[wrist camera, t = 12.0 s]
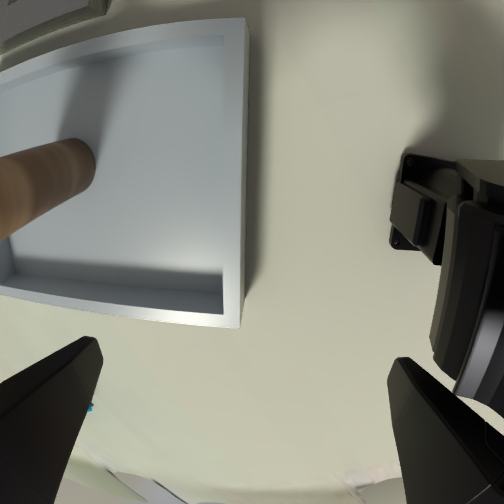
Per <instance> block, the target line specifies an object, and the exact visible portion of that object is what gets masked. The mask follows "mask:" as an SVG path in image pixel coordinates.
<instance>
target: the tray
mask: <svg viewBox="0 0 504 504" xmlns="http://www.w3.org/2000/svg"><path fill="white" fill-rule="evenodd" d="M249 59H250V32H249V29H248V26H247V23H246V19H245V18H217V19H202V20H191V21H182V22H174V23H166V24H159V25H153V26H147V27H141V28H136V29H131V30H126V31H121V32H117V33H112V34H108V35H104V36H100V37H96V38H93V39H89V40H85V41H82V42H79V43H75V44H72V45H69V46H66V47H63V48H60V49H57V50H54V51H51V52H48V53H45V54H43V55H40V56H37V57H35V58H32V59H30V60H27V61H25V62H22V63H20V64H18V65H15V66H13V67H11V68H9V69H6V70H4V71H2V72H0V157H2V156H5V155H9V154H12V153H15V152H19V151H22V150H26V149H29V148H33V147H36V146H40V145H44V144H48V143H52V142H56V141H60V140H64V139H69V138H77V139H80V140H82V141H84V142H85V143H86V144H87V145H88V146H89V147H90V149H91V150H92V152H93V155H94V158H95V164H96V170H95V176H94V179H93V181H92V183H91V185H90V186H89V187H88V188H87V189H86V190H85V191H83V192H82V193H80V194H78V195H76V196H74V197H73V198H71V199H69V200H67V201H65V202H64V203H62V204H60V205H58V206H57V207H55V208H53V209H51V210H50V211H48V212H46V213H45V214H43V215H41V216H40V217H38V218H36V219H35V220H33V221H31V222H30V223H28V224H27V225H25V226H23V227H22V228H20V229H19V230H17V231H16V232H14V233H13V234H11V235H10V236H8V237H7V238H5V239H4V240H2V241H1V242H0V295H4V296H8V297H13V298H17V299H22V300H27V301H32V302H37V303H42V304H47V305H52V306H58V307H63V308H69V309H75V310H81V311H87V312H93V313H100V314H107V315H113V316H121V317H128V318H136V319H144V320H152V321H160V322H169V323H179V324H189V325H200V326H211V327H224V328H238V329H240V325H241V319H242V312H243V306H244V300H245V246H246V190H247V142H248V98H249Z"/></svg>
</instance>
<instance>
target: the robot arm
mask: <svg viewBox="0 0 504 504" xmlns="http://www.w3.org/2000/svg"><path fill="white" fill-rule="evenodd" d="M408 158H410V159H411V163H410V164H409V165H408V164H407V159H408ZM390 222H391V223H392V227H391V233H390V239H389V243H390V245H391V247H392V248H394V249H396V250H413V251H422V252H423V253H424V255H425V256H426V257H427V258H428V259H429V260H430V261H431V262H432V263H433V264H434V265H440V266H441V274H440V281H439V287H438V293H437V299H436V305H435V310H434V315H433V320H432V325H431V330H430V336H429V338H430V342H431V346H432V350H433V352H434V355H433V360H434V361H435V362H436V364H437V365H438V366H439V368H440V369H441V370H442V371H443V372H445V373H446V374H447V375H448V376H449V377H451V378H452V379H454V380H455V381H456V383H455V385H454V388H453V390H452V392H453V393H452V392H451V391H450V390H448V389H447V388H446V387H445V386H444V385H442V384H441V383H440V382H439V381H438V380H436V379H435V378H434V377H433V376H432V375H430V374H429V373H428V372H427V371H426V370H424V369H423V368H422V367H421V366H419V365H418V364H417V363H416V362H415V361H413V360H412V359H411V358H409V357H398V358H396V359H395V361H394V363H393V365H392V368H391V370H390V373H389V375H388V379H387V386H388V393H389V402H390V410H391V420H392V427H393V432H394V437H395V441H396V446H397V451H398V456H399V461H400V466H401V471H402V477H403V483H404V488H405V495H406V501H407V504H504V436H503V435H502V434H501V433H499V432H498V431H497V430H496V429H495V428H493V427H492V426H491V425H490V424H489V423H488V422H485V420H484V419H483V418H482V417H480V416H479V415H478V414H477V413H476V412H474V411H473V410H472V409H471V408H470V407H469V406H467V405H466V404H465V403H464V402H463V401H461V400H460V399H459V398H458V397H457V396H461V397H466V398H470V399H474V400H476V401H478V402H480V403H482V404H485V405H487V406H488V407H490V408H491V409H493V410H494V411H495V412H497V413H498V414H499V415H500V416H501V417H502V418H504V161H496V160H455V162H452V161H448V160H443V159H437V158H432V157H427V156H421V155H415V154H409V153H406V154H404V155H403V156H402V158H401V163H400V172H399V180H398V182H397V183H396V184H395V188H394V195H393V202H392V209H391V215H390ZM396 239H399V242H398V243H397V244H394V242H395V240H396ZM102 366H103V356H102V353H101V350H100V347H99V344H98V341H97V339H96V338H94V337H89V336H83V337H81V338H80V339H78V340H76V341H74V342H72V343H71V344H69V345H67V346H65V347H63V348H62V349H60V350H58V351H56V352H54V353H53V354H51V355H49V356H47V357H45V358H44V359H42V360H40V361H38V362H37V363H35V364H33V365H31V366H29V367H28V368H26V369H24V370H22V371H21V372H19V373H17V374H15V375H13V376H12V377H10V378H8V379H6V380H5V381H3V382H2V383H0V504H54V501H55V498H56V495H57V492H58V489H59V486H60V483H61V480H62V477H63V474H64V471H65V468H66V466H67V463H68V460H69V457H70V455H71V452H72V449H73V447H74V444H75V441H76V439H77V436H78V434H79V431H80V429H81V426H82V424H83V421H84V419H85V416H86V414H87V411H88V409H89V406H90V404H91V401H92V398H93V395H94V391H95V388H96V385H97V381H98V378H99V375H100V372H101V369H102ZM456 395H457V396H456Z"/></svg>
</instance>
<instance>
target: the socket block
mask: <svg viewBox="0 0 504 504" xmlns="http://www.w3.org/2000/svg"><path fill="white" fill-rule="evenodd" d="M106 8H107V0H0V55H2V54H3V53H5V52H7V51H9V50H12V49H14V48H16V47H18V46H20V45H22V44H24V43H27V42H29V41H31V40H33V39H36V38H38V37H41V36H43V35H45V34H48V33H51V32H53V31H56V30H58V29H61V28H64V27H67V26H70V25H73V24H76V23H79V22H82V21H85V20H88V19H91V18H95V17H98V16H102V15H105V14H106Z"/></svg>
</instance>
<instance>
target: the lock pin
mask: <svg viewBox="0 0 504 504" xmlns="http://www.w3.org/2000/svg"><path fill="white" fill-rule="evenodd" d="M95 170H96V164H95V158H94V155H93V152H92V150H91V149H90V147H89V146H88V145H87V144H86V143H85V142H84V141H82V140H80V139H77V138H69V139H64V140H60V141H56V142H52V143H48V144H44V145H40V146H36V147H33V148H29V149H26V150H22V151H19V152H15V153H12V154H9V155H5V156H2V157H0V242H1V241H2V240H4V239H5V238H7V237H8V236H10V235H11V234H13V233H14V232H16V231H17V230H19V229H20V228H22V227H23V226H25V225H27V224H28V223H30V222H31V221H33V220H35V219H36V218H38V217H40V216H41V215H43V214H45V213H46V212H48V211H50V210H51V209H53V208H55V207H57V206H58V205H60V204H62V203H64V202H65V201H67V200H69V199H71V198H73V197H74V196H76V195H78V194H80V193H82V192H83V191H85V190H86V189H87V188H88V187H89V186H90V185H91V183H92V181H93V179H94V176H95Z"/></svg>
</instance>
